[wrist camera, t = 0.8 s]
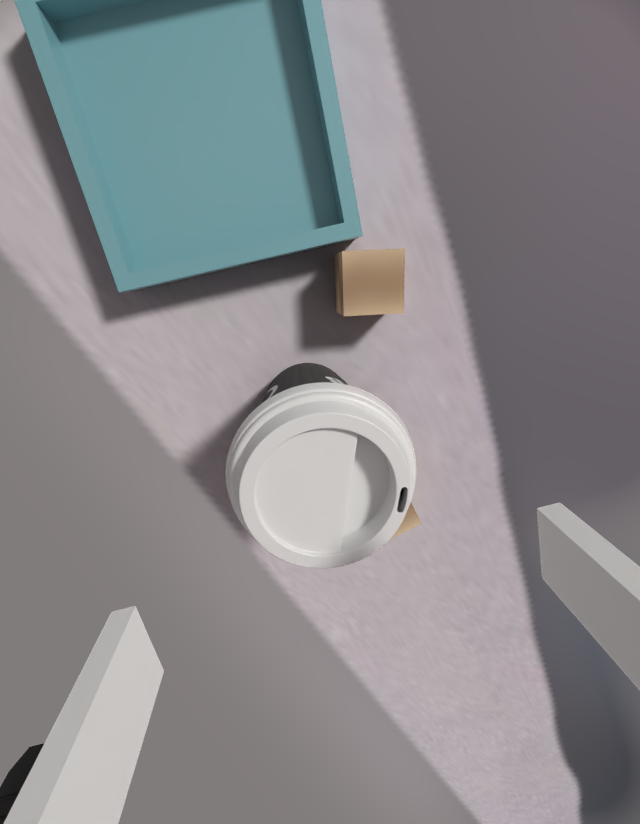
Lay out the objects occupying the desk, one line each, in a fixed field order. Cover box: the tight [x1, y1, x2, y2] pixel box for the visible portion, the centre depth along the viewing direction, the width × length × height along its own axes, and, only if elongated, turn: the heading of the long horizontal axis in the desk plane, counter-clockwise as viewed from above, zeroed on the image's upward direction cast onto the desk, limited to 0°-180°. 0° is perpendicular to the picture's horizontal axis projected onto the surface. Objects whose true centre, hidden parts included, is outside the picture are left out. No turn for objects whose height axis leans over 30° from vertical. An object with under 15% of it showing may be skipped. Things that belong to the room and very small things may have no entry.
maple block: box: [335, 249, 405, 316], centre depth 30 cm, size 4×4×4 cm
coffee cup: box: [225, 363, 416, 568], centre depth 27 cm, size 10×10×15 cm
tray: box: [15, 0, 363, 292], centre depth 27 cm, size 16×16×3 cm
